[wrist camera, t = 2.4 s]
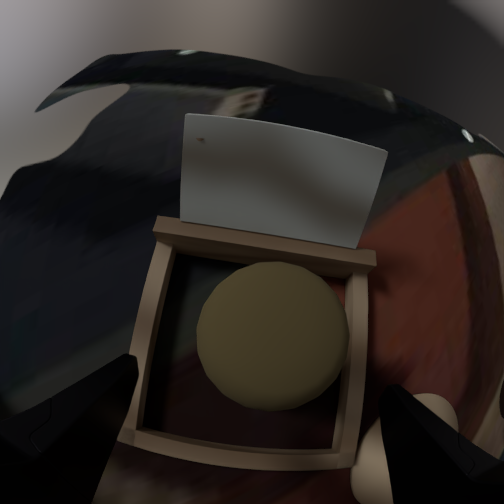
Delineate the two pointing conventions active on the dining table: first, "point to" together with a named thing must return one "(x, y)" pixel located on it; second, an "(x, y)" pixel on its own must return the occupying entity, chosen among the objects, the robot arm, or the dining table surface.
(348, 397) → the cold frame
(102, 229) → the dining table surface
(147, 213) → the dining table surface
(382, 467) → the disc
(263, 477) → the dining table surface
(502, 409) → the coffee mug
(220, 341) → the pepper shaker
